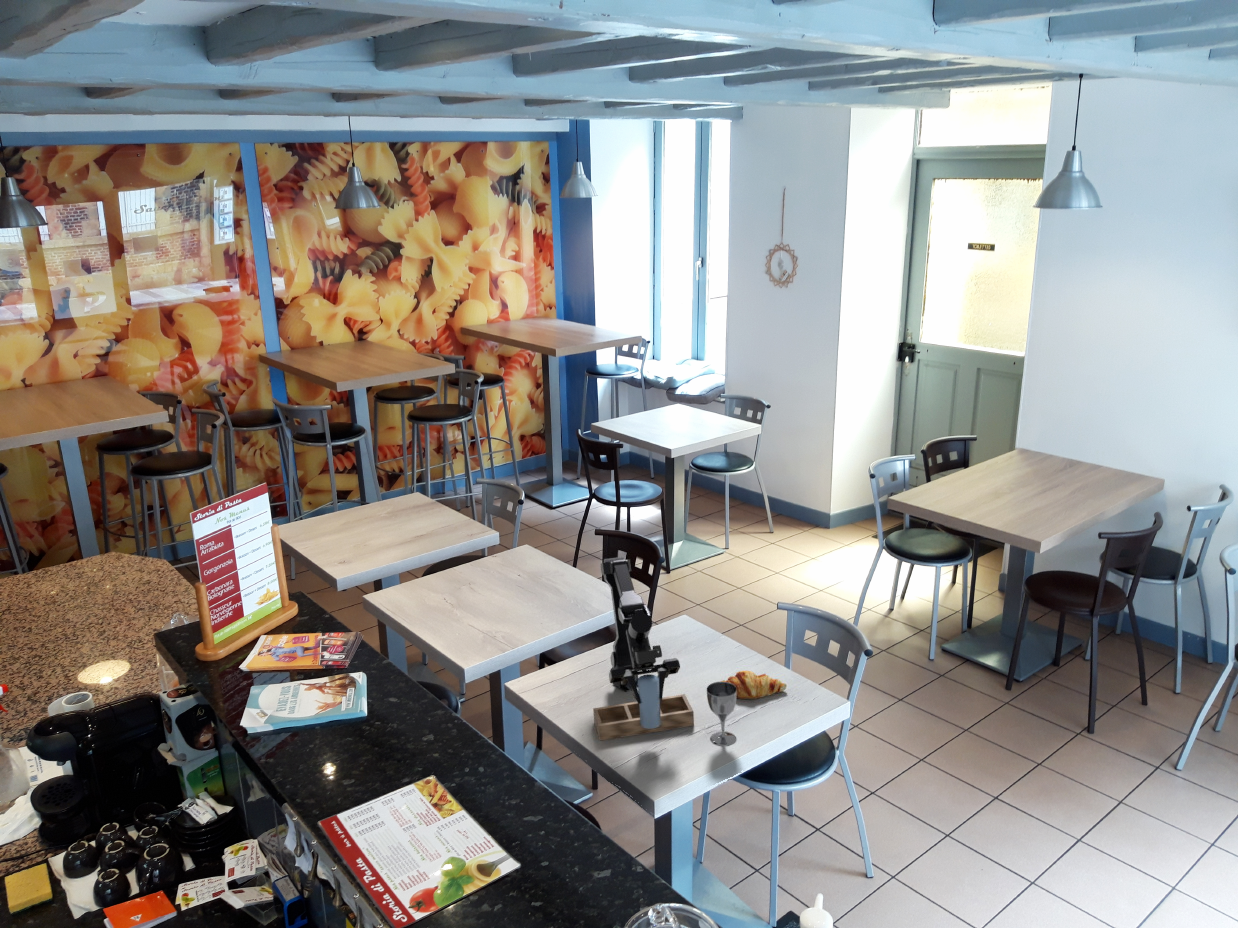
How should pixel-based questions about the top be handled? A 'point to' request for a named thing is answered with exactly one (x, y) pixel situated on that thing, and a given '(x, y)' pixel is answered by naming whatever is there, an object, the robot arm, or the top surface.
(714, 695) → the wine glass
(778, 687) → the croissant
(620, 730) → the rack
